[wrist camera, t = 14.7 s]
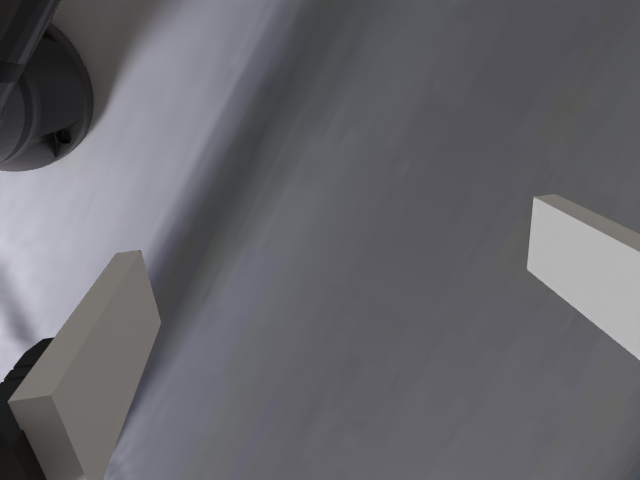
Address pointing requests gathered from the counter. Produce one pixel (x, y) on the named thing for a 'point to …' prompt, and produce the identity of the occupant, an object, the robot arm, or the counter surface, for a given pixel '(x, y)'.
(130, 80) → the counter surface
